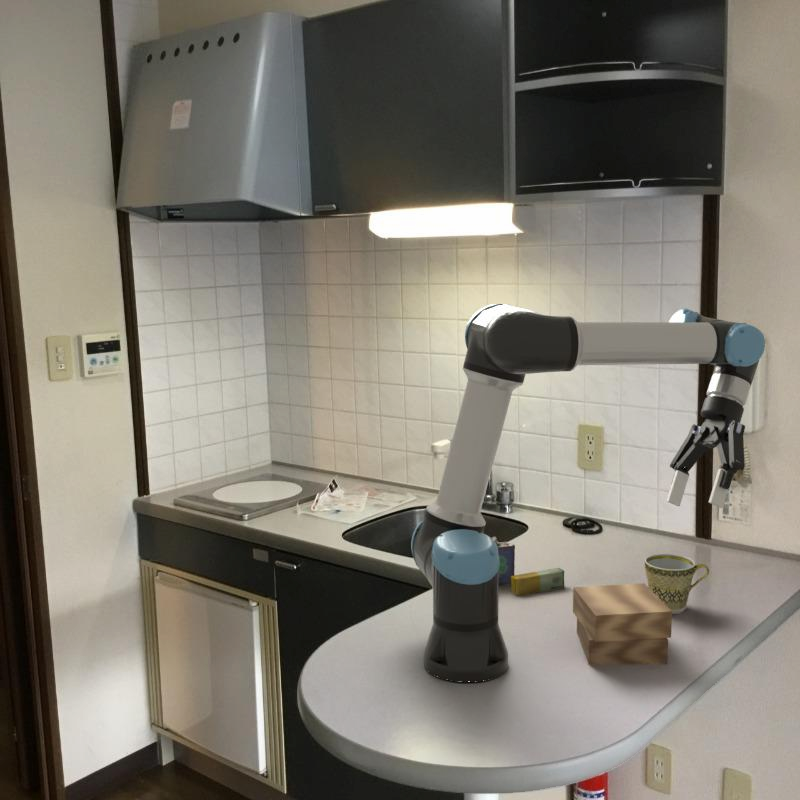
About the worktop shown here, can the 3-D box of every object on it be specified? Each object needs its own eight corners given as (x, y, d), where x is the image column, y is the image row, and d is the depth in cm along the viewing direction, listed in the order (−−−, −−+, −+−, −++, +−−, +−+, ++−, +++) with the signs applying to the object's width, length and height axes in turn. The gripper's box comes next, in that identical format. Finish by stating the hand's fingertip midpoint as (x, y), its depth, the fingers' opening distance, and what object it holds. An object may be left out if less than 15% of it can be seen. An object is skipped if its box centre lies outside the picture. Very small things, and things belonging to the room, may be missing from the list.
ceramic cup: (649, 617, 195) (650, 570, 193) (638, 599, 205) (639, 553, 203) (714, 617, 195) (716, 569, 193) (700, 598, 205) (702, 553, 203)
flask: (477, 589, 212) (477, 542, 210) (472, 585, 215) (472, 538, 213) (516, 584, 215) (516, 537, 213) (510, 579, 217) (511, 533, 216)
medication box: (558, 584, 215) (558, 567, 214) (565, 588, 212) (565, 570, 211) (510, 592, 210) (510, 575, 210) (516, 596, 208) (516, 578, 207)
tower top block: (595, 642, 173) (595, 615, 172) (572, 612, 187) (573, 587, 186) (671, 637, 175) (672, 611, 174) (643, 608, 188) (644, 583, 187)
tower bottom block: (588, 666, 175) (589, 640, 174) (576, 634, 189) (577, 610, 188) (667, 666, 174) (668, 640, 174) (649, 634, 188) (650, 609, 187)
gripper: (784, 404, 178) (751, 513, 174) (702, 413, 202) (672, 509, 198) (751, 388, 176) (718, 498, 172) (672, 399, 200) (641, 496, 196)
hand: (693, 504), depth 185 cm, fingers open, 13 cm apart
